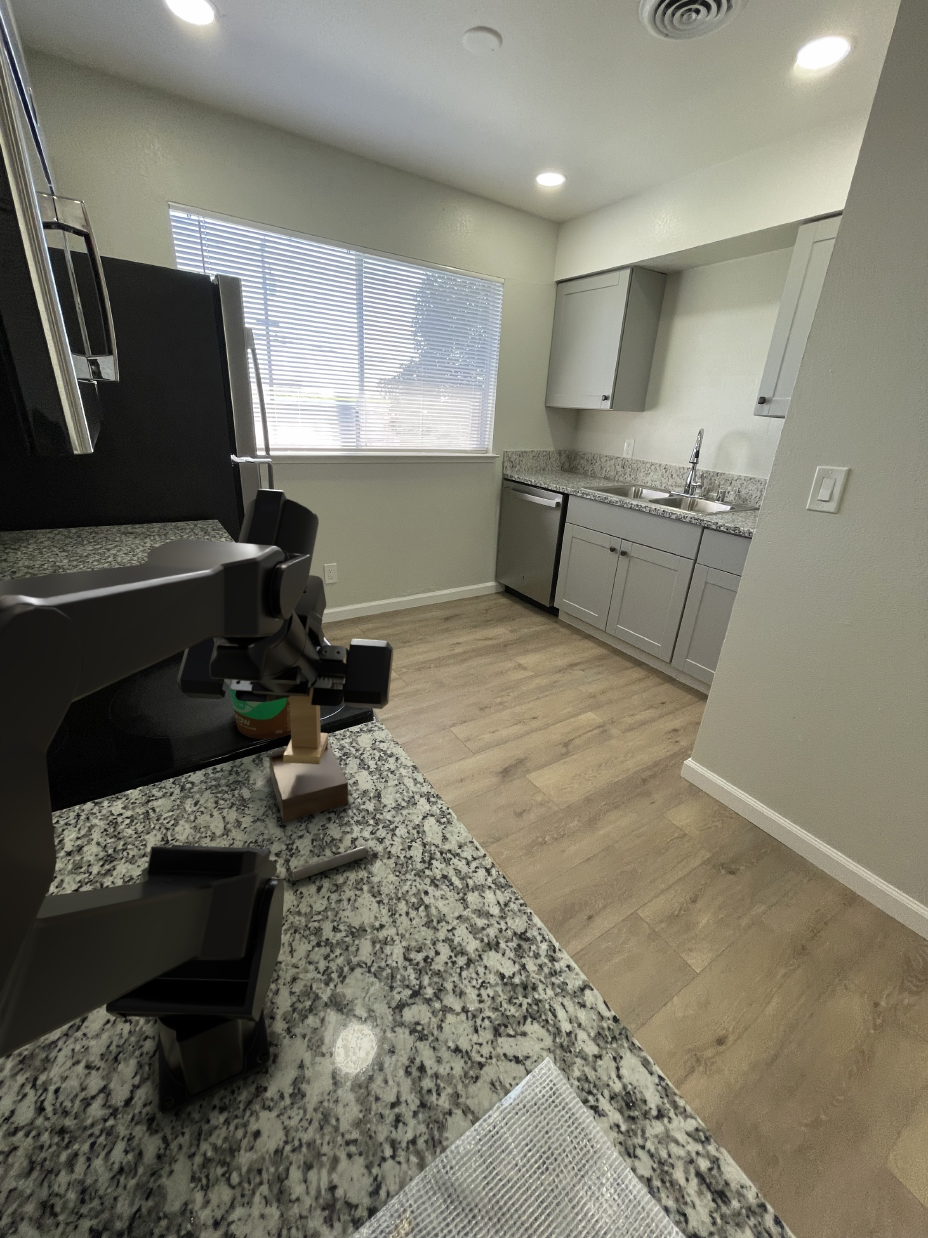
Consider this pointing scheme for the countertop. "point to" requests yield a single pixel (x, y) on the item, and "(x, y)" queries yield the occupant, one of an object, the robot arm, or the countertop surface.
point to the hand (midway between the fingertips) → (308, 691)
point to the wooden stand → (311, 798)
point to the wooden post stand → (305, 732)
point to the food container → (262, 717)
